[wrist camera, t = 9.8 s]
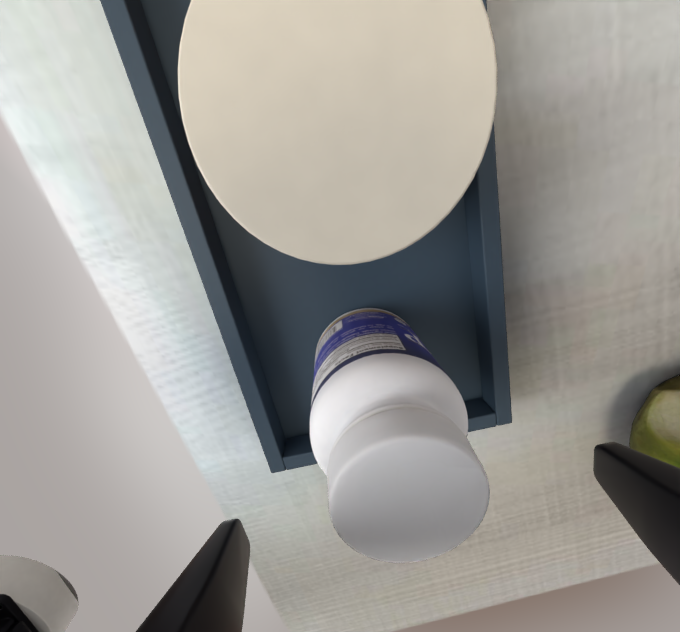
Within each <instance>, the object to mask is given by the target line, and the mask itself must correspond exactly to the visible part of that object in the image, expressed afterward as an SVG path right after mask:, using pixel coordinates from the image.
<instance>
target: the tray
mask: <svg viewBox="0 0 680 632" xmlns="http://www.w3.org/2000/svg"><path fill="white" fill-rule="evenodd" d="M100 1H101V4H102V7H103V9H104V12H105V15H106V18H107V20H108V23H109V26H110V29H111V31H112V34H113V37H114V40H115V43H116V45H117V48H118V51H119V54H120V56H121V59H122V62H123V65H124V67H125V70H126V73H127V76H128V78H129V81H130V84H131V87H132V89H133V92H134V95H135V98H136V100H137V103H138V106H139V109H140V111H141V114H142V117H143V120H144V123H145V125H146V128H147V131H148V134H149V136H150V139H151V142H152V145H153V147H154V150H155V153H156V156H157V158H158V161H159V164H160V167H161V169H162V172H163V175H164V178H165V180H166V183H167V186H168V189H169V191H170V194H171V197H172V200H173V203H174V205H175V208H176V211H177V214H178V216H179V219H180V222H181V225H182V227H183V230H184V233H185V236H186V238H187V241H188V244H189V247H190V249H191V252H192V255H193V258H194V260H195V263H196V266H197V269H198V271H199V274H200V277H201V280H202V283H203V285H204V288H205V291H206V294H207V296H208V299H209V302H210V305H211V307H212V310H213V313H214V316H215V318H216V321H217V324H218V327H219V329H220V332H221V335H222V338H223V340H224V343H225V346H226V349H227V351H228V354H229V357H230V360H231V363H232V365H233V368H234V371H235V374H236V376H237V379H238V382H239V385H240V387H241V390H242V393H243V396H244V398H245V401H246V404H247V407H248V409H249V412H250V415H251V418H252V420H253V423H254V426H255V429H256V431H257V434H258V437H259V440H260V443H261V445H262V448H263V451H264V454H265V456H266V459H267V462H268V465H269V467H270V470H271V473H275V472H280V471H284V470H286V469H287V470H289V469H294V468H299V467H304V466H308V465H313V464H318V463H317V461H316V459H315V456H314V453H313V450H312V447H311V441H310V410H311V401H312V391H313V380H314V366H315V354H316V348H317V344H318V342H319V339H320V337H321V335H322V334H323V332H324V331H325V329H326V328H327V327H328V326H329V325H330V324H331V323H332V322H333V321H334V320H335V319H337V318H338V317H340V316H341V315H343V314H345V313H347V312H350V311H353V310H357V309H362V308H376V309H382V310H386V311H388V312H391V313H393V314H395V315H397V316H398V317H400V318H401V319H403V320H404V321H405V322H406V323H407V324H408V325H409V326H410V328H411V329H412V330H413V331H414V333H415V334H416V335H417V336H418V338H419V339H420V340H421V342H422V343H423V344H424V346H425V347H426V348H427V349H428V351H429V352H430V353H431V355H432V356H433V357H434V358H435V360H436V361H437V362H438V363H439V365H440V366H441V367H442V368H443V370H444V371H445V372H446V373H447V375H448V376H449V377H450V379H451V380H452V381H453V383H454V384H455V386H456V387H457V389H458V391H459V393H460V394H461V396H462V398H463V401H464V403H465V407H466V410H467V416H468V432H471V431H476V430H480V429H485V428H490V427H495V426H496V425H503V424H508V423H512V414H511V397H510V381H509V365H508V348H507V332H506V316H505V299H504V283H503V266H502V250H501V234H500V217H499V201H498V184H497V168H496V152H495V135H494V121H493V125H492V130H491V134H490V138H489V141H488V144H487V147H486V150H485V153H484V156H483V159H482V161H481V163H480V166H479V168H478V170H477V172H476V174H475V176H474V178H473V180H472V182H471V183H470V185H469V187H468V188H467V190H466V192H465V193H464V195H463V196H462V198H461V199H460V201H459V202H458V203H457V204H456V206H455V207H454V208H453V209H452V211H451V212H450V213H449V214H448V215H447V216H446V217H445V218H444V219H443V220H442V221H441V222H440V223H439V224H438V225H437V226H436V227H435V228H434V229H433V230H432V231H430V232H429V233H428V234H426V235H425V236H424V237H423V238H421V239H420V240H418V241H417V242H415V243H413V244H412V245H410V246H408V247H407V248H405V249H403V250H401V251H399V252H396V253H394V254H392V255H390V256H387V257H384V258H381V259H377V260H374V261H371V262H365V263H358V264H351V265H330V264H320V263H314V262H310V261H306V260H301V259H298V258H295V257H293V256H290V255H287V254H285V253H282V252H280V251H278V250H276V249H274V248H272V247H271V246H269V245H267V244H265V243H263V242H262V241H261V240H259V239H258V238H256V237H255V236H253V235H252V234H251V233H249V232H248V231H247V230H246V229H245V228H243V227H242V226H241V225H240V224H239V223H238V222H237V221H236V220H235V219H234V218H233V217H232V216H231V215H230V214H229V213H228V212H227V210H226V209H225V208H224V207H223V206H222V205H221V204H220V202H219V201H218V199H217V198H216V197H215V195H214V194H213V192H212V191H211V189H210V188H209V186H208V185H207V183H206V181H205V179H204V177H203V175H202V174H201V172H200V170H199V168H198V166H197V164H196V161H195V159H194V156H193V154H192V151H191V149H190V146H189V144H188V140H187V136H186V132H185V129H184V125H183V121H182V115H181V109H180V102H179V93H178V59H179V47H180V41H181V36H182V31H183V26H184V21H185V17H186V14H187V11H188V8H189V5H190V2H191V0H100ZM482 1H483V4H484V6H485V9H486V12H487V4H486V0H482Z"/></svg>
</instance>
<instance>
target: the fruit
mask: <svg viewBox="0 0 680 632" xmlns="http://www.w3.org/2000/svg"><path fill="white" fill-rule="evenodd" d="M629 444H630V448H631V449H633V450H636V451H638V452H641V453H643V454H646V455H648V456H651V457H653V458H656V459H658V460H661V461H663V462H666V463H668V464H671V465H673V466H676V467H678V468H680V375H678V376H676V377H673V378H671V379H669V380H667V381H665V382H663V383H661V384H660V385H658V386H657V387H656V388H654V389H653V390H652V391H651V393H650V394H649V396H648V397H647V399H646V401H645V403H644V404H643V406H642V407H641V409H640V410H639V412H638V413H637V415H636V417H635V419H634V421H633V424H632V429H631V435H630V443H629Z"/></svg>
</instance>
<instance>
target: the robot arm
mask: <svg viewBox="0 0 680 632" xmlns="http://www.w3.org/2000/svg"><path fill="white" fill-rule="evenodd" d="M594 475H595V477H596V479H597V481H598V482H599V484H600V485H601V486H602V488H603V489H604V490H605V492H606V493H607V495H608V496H609V497H610V499H611V500H612V501H613V503H614V504H615V505H616V507H617V508H618V509H619V511H620V512H621V513H622V515H623V516H624V517H625V519H626V520H627V521H628V523H629V524H630V525H631V527H632V528H633V529H634V531H635V532H636V533H637V535H638V536H639V537H640V539H641V540H642V541H643V543H644V544H645V545H646V546H647V548H648V549H649V550H650V551H651V553H652V554H653V555H654V556H655V557H656V558H657V560H658V561H659V562H660V563H661V564H662V565H663V567H664V568H665V569H666V570H667V571H668V572H669V573H670V574H671V575H672V577H673V578H674V579H675V580H676V581H677V583H678V584H679V585H680V468H678V467H676V466H673V465H671V464H668V463H666V462H663V461H661V460H658V459H656V458H653V457H651V456H648V455H646V454H643V453H641V452H638V451H636V450H633V449H631V448H628V447H626V446H623V445H621V444H618V443H615V442H609V443H604V444H599V445H597V446H596V447H595V449H594ZM249 557H250V543H249V540H248V537H247V535H246V532H245V530H244V528H243V525H242V523H241V521H240V520H239V519H232V520H228V521H224V522H222V523H221V524H220V525H219V526H218V528H217V529H216V530H215V532H214V533H213V534H212V535H211V537H210V538H209V539H208V540H207V542H206V543H205V544H204V546H203V547H202V548H201V549H200V551H199V552H198V553H197V554H196V556H195V557H194V558H193V559H192V561H191V562H190V563H189V565H188V566H187V567H186V568H185V570H184V571H183V572H182V573H181V575H180V576H179V577H178V579H177V580H176V581H175V582H174V584H173V585H172V586H171V588H170V589H169V590H168V591H167V593H166V594H165V595H164V597H163V598H162V599H161V600H160V602H159V603H158V604H157V606H156V607H155V608H154V609H153V610H152V612H151V613H150V614H149V616H148V617H147V618H146V620H145V621H144V622H143V623H142V624H141V626H140V627H139V628H138V630H137V631H136V632H242V625H243V617H244V616H243V615H244V607H245V597H246V587H247V576H248V567H249ZM0 632H39V631H38V630H37V629H36V627H35V626H34V625H33V624H32V622H31V621H30V620H29V619H28V618H27V616H26V615H25V614H24V613H23V611H22V610H21V609H20V608H19V606H18V605H17V604H16V603H15V601H14V600H13V599H12V598H11V597H10V596H8V595H6V594H0Z"/></svg>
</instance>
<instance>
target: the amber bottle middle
mask: <svg viewBox="0 0 680 632" xmlns="http://www.w3.org/2000/svg"><path fill="white" fill-rule="evenodd" d="M178 93H179V102H180V109H181V115H182V121H183V125H184V129H185V132H186V136H187V140H188V144H189V146H190V149H191V151H192V154H193V156H194V159H195V161H196V164H197V166H198V168H199V170H200V172H201V174H202V175H203V177H204V179H205V181H206V183H207V185H208V186H209V188H210V189H211V191H212V192H213V194H214V195H215V197H216V198H217V199H218V201H219V202H220V204H221V205H222V206H223V207H224V208H225V209H226V210H227V212H228V213H229V214H230V215H231V216H232V217H233V218H234V219H235V220H236V221H237V222H238V223H239V224H240V225H241V226H242V227H243V228H245V229H246V230H247V231H248V232H249V233H251V234H252V235H253V236H255V237H256V238H258V239H259V240H261V241H262V242H263V243H265V244H267V245H269V246H271V247H272V248H274V249H276V250H278V251H280V252H282V253H285V254H287V255H290V256H293V257H295V258H298V259H301V260H306V261H310V262H314V263H320V264H330V265H351V264H358V263H365V262H371V261H374V260H377V259H381V258H384V257H387V256H390V255H392V254H394V253H396V252H399V251H401V250H403V249H405V248H407V247H408V246H410V245H412V244H413V243H415V242H417V241H418V240H420V239H421V238H423V237H424V236H425V235H426V234H428V233H429V232H430V231H432V230H433V229H434V228H435V227H436V226H437V225H438V224H439V223H440V222H441V221H442V220H443V219H444V218H445V217H446V216H447V215H448V214H449V213H450V212H451V211H452V209H453V208H454V207H455V206H456V204H457V203H458V202H459V201H460V199H461V198H462V196H463V195H464V193H465V192H466V190H467V188H468V187H469V185H470V183H471V182H472V180H473V178H474V176H475V174H476V172H477V170H478V168H479V166H480V163H481V161H482V159H483V156H484V153H485V150H486V147H487V144H488V141H489V138H490V134H491V130H492V125H493V121H494V116H495V108H496V99H497V61H496V52H495V43H494V38H493V34H492V30H491V26H490V21H489V17H488V15H487V12H486V9H485V6H484V4H483V1H482V0H191V2H190V5H189V8H188V11H187V14H186V17H185V21H184V26H183V31H182V36H181V41H180V47H179V59H178Z"/></svg>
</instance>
